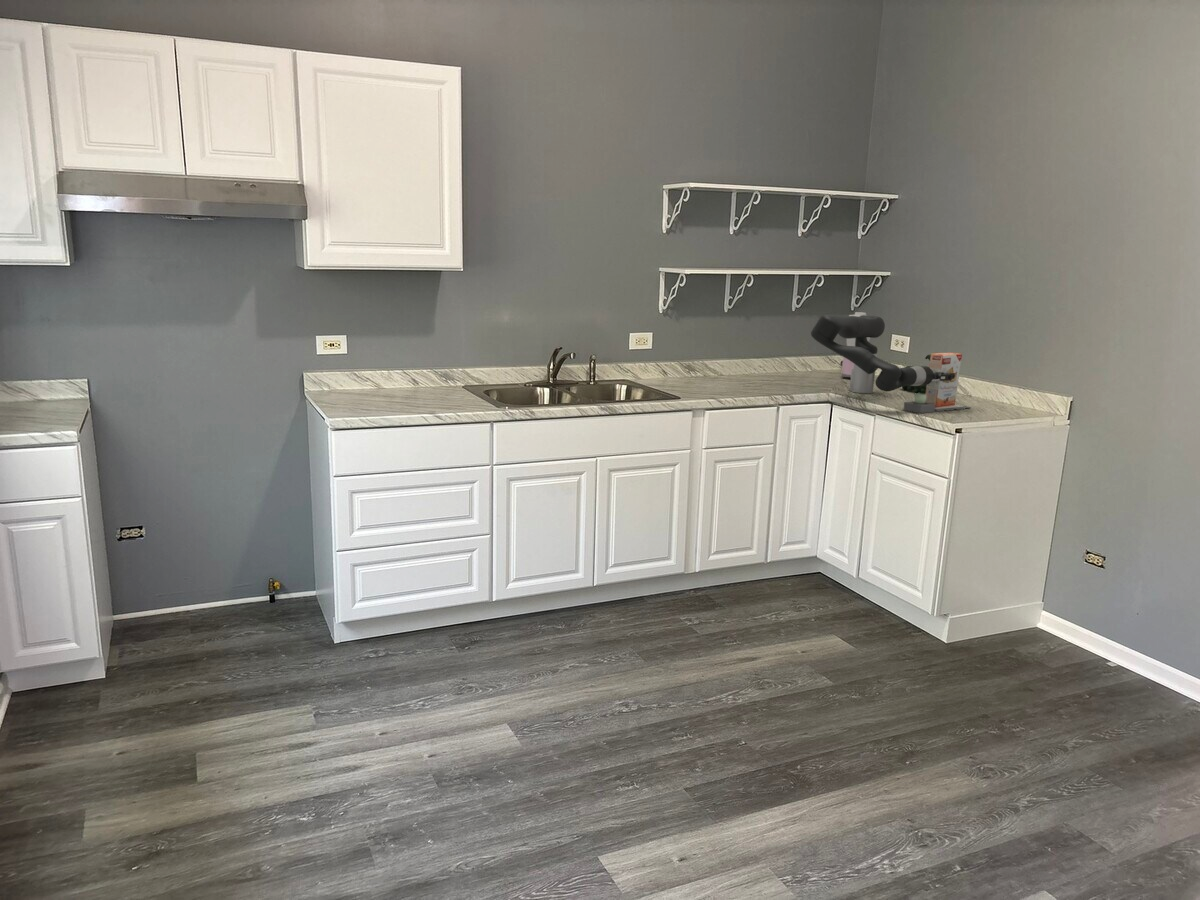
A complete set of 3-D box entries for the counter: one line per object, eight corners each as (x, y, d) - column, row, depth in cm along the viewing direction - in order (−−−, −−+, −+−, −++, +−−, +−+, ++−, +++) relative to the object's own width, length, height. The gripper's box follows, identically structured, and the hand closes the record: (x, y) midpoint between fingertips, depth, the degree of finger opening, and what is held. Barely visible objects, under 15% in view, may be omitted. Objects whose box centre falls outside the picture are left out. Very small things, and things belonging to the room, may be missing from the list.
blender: (871, 379, 424) (878, 313, 417) (861, 381, 415) (868, 314, 408) (840, 375, 434) (847, 311, 427) (830, 377, 424) (836, 311, 417)
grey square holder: (903, 409, 338) (904, 402, 337) (917, 408, 342) (918, 401, 341) (920, 413, 331) (921, 405, 330) (934, 411, 335) (935, 404, 334)
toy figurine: (940, 400, 377) (906, 386, 400) (948, 357, 371) (913, 345, 394) (921, 400, 374) (888, 386, 397) (929, 357, 368) (895, 345, 391)
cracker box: (936, 407, 340) (943, 354, 336) (923, 405, 345) (929, 353, 340) (956, 405, 349) (962, 353, 344) (942, 402, 354) (949, 351, 349)
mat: (908, 405, 348) (908, 403, 348) (941, 402, 358) (941, 401, 358) (937, 411, 336) (937, 409, 336) (970, 408, 346) (970, 406, 346)
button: (911, 403, 336) (912, 393, 336) (918, 403, 339) (919, 393, 338) (920, 405, 333) (921, 395, 332) (927, 405, 335) (928, 394, 334)
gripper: (933, 368, 329) (961, 367, 338) (903, 364, 341) (931, 362, 349) (931, 388, 331) (959, 386, 339) (901, 382, 343) (929, 381, 351)
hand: (944, 374), depth 344 cm, fingers open, 8 cm apart
